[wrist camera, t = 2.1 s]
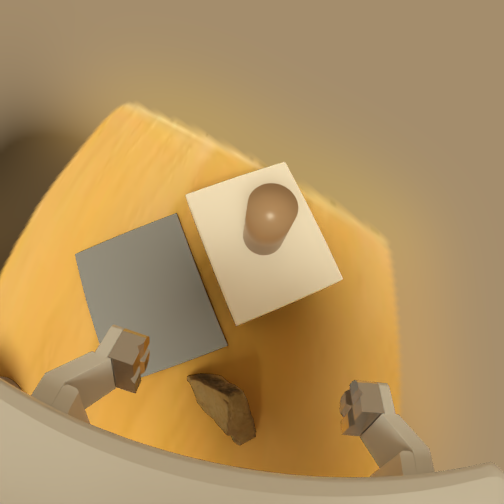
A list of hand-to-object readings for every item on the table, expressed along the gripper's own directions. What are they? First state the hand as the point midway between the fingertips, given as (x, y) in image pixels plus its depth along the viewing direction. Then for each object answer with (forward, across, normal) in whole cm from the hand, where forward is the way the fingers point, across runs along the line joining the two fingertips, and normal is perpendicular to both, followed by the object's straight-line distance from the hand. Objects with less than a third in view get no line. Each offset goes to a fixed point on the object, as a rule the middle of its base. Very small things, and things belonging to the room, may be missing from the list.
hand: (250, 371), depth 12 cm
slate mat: (+23, +13, +18) cm, 32 cm away
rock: (+15, 0, +26) cm, 30 cm away
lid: (+26, 0, +8) cm, 27 cm away
